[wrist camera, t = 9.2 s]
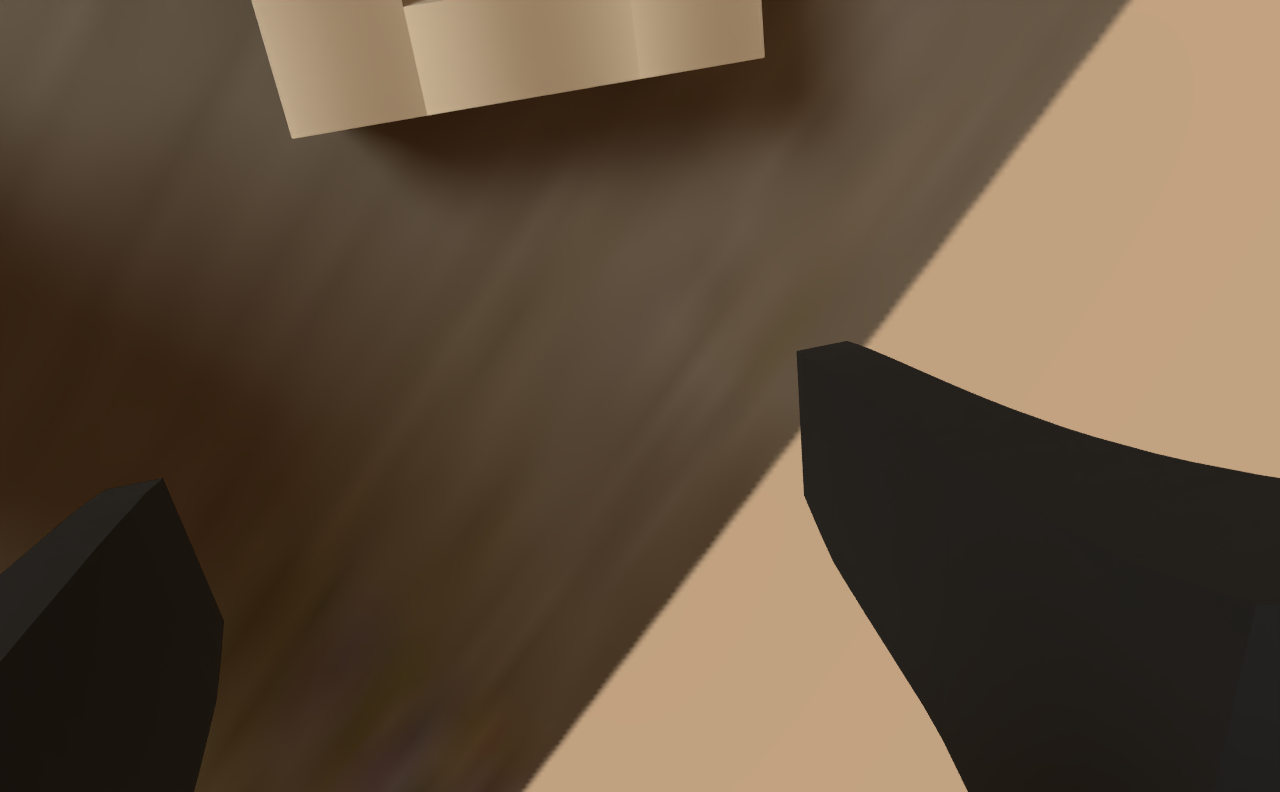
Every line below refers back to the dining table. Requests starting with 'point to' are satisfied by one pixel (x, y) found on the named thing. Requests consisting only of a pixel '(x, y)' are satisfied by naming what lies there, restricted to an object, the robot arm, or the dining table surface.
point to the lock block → (482, 51)
